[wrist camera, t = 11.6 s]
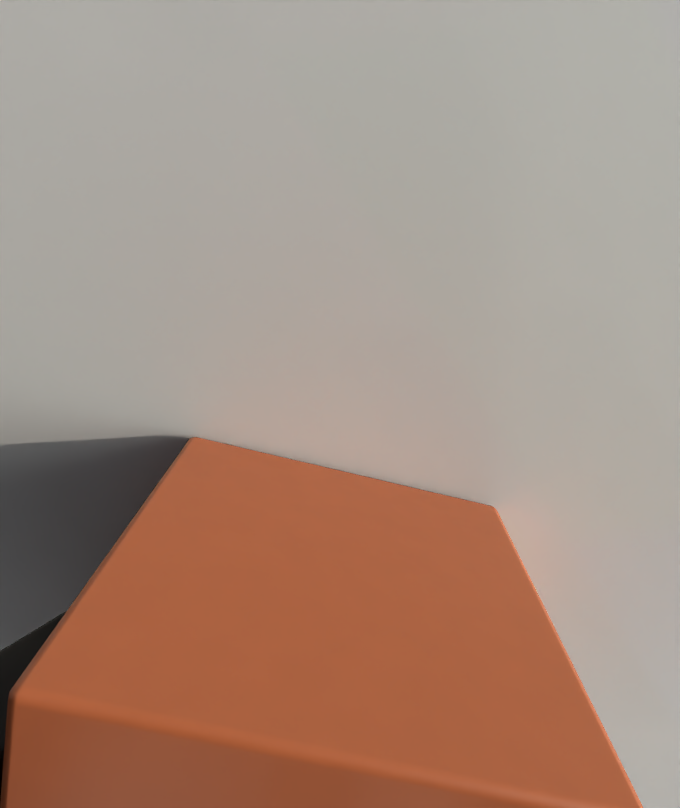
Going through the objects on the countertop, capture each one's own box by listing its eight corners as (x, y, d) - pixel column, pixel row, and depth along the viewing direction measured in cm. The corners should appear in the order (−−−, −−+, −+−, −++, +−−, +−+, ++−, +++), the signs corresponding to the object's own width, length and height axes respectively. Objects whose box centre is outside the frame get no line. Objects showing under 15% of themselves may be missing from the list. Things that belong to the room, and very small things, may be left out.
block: (496, 505, 8) (658, 824, 4) (409, 732, 9) (458, 1150, 5) (190, 433, 8) (0, 692, 4) (147, 678, 9) (-26, 1073, 5)
